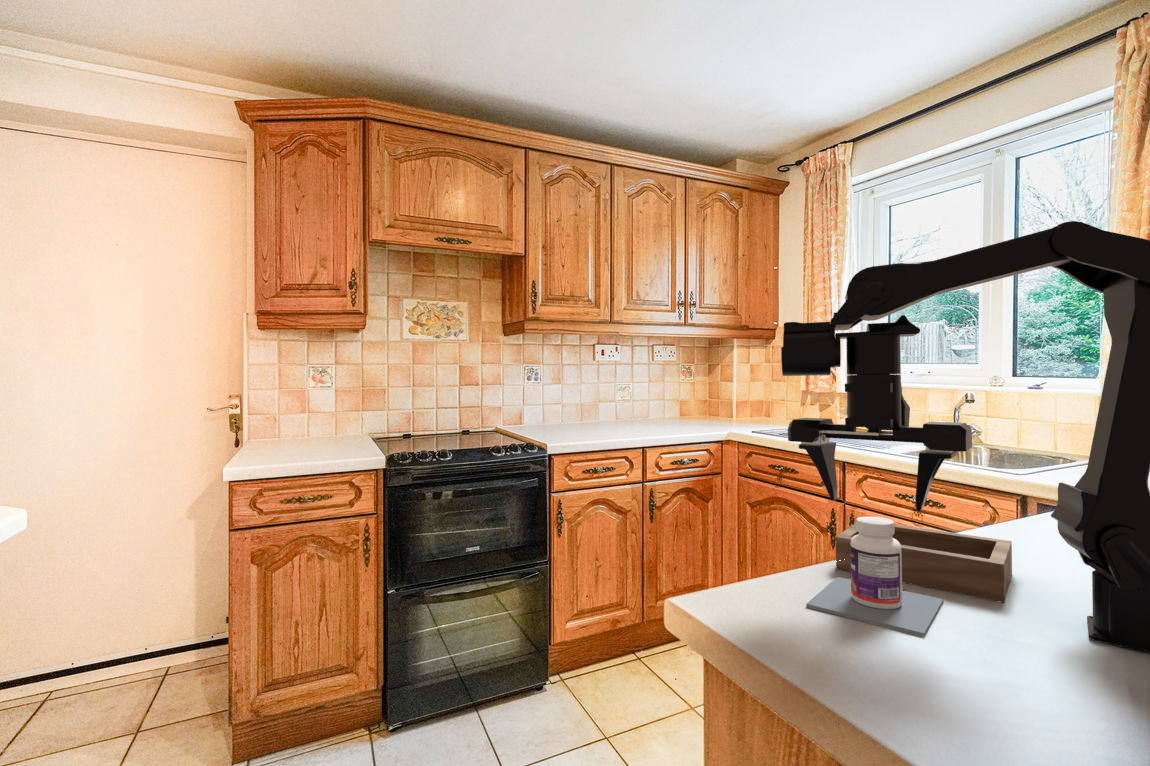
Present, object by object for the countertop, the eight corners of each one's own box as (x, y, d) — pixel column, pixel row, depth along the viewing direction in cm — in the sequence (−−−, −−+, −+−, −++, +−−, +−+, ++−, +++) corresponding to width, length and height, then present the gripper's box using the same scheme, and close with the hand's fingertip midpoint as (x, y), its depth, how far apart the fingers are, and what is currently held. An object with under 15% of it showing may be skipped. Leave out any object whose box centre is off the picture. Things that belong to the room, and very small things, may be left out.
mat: (924, 637, 57) (924, 633, 57) (806, 607, 65) (806, 603, 65) (943, 602, 66) (943, 599, 66) (837, 579, 74) (837, 576, 74)
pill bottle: (857, 589, 69) (856, 512, 70) (906, 600, 66) (905, 519, 66) (845, 602, 65) (844, 521, 65) (897, 614, 62) (896, 528, 62)
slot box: (1004, 602, 66) (1003, 564, 66) (836, 568, 78) (835, 536, 79) (1012, 574, 76) (1011, 541, 76) (861, 548, 88) (860, 519, 88)
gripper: (977, 374, 66) (978, 504, 66) (815, 376, 78) (816, 486, 78) (964, 373, 57) (966, 522, 57) (785, 376, 70) (786, 499, 70)
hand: (874, 505), depth 66 cm, fingers open, 9 cm apart
